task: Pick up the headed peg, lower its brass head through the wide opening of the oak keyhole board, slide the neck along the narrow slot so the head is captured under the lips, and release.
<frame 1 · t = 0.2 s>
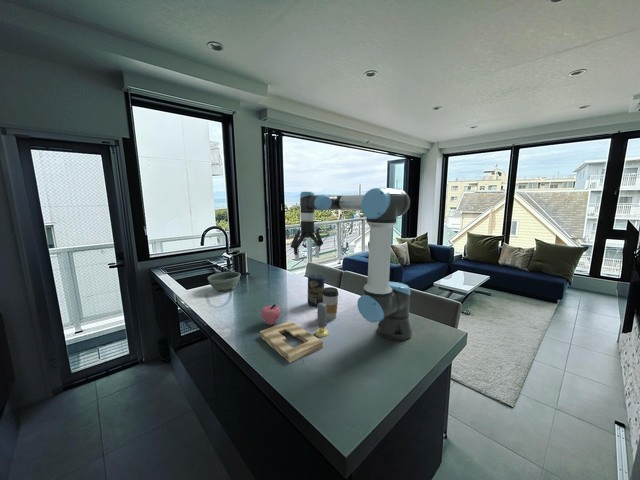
hand: (307, 258, 145), 28 cm above the countertop, fingers open, 13 cm apart
coffee cup: (330, 317, 135), on the countertop
keyhole board: (290, 342, 111), on the countertop
peg: (321, 333, 119), on the countertop
canister: (315, 304, 152), on the countertop
apple: (271, 324, 128), on the countertop
bowl: (225, 289, 176), on the countertop
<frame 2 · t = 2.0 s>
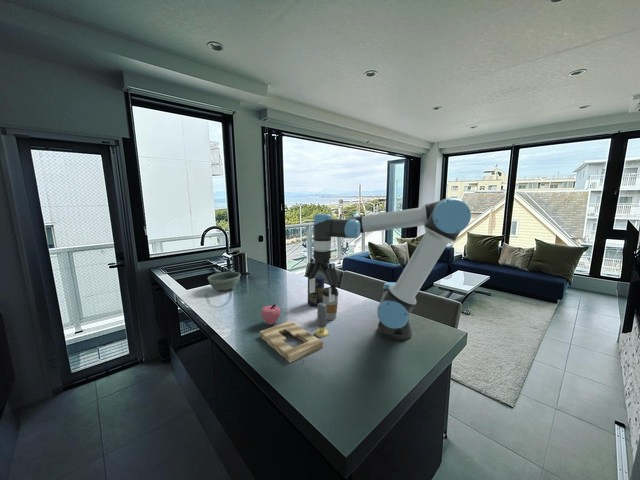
hand: (321, 296, 116), 17 cm above the countertop, fingers open, 13 cm apart
nothing on the countertop moved.
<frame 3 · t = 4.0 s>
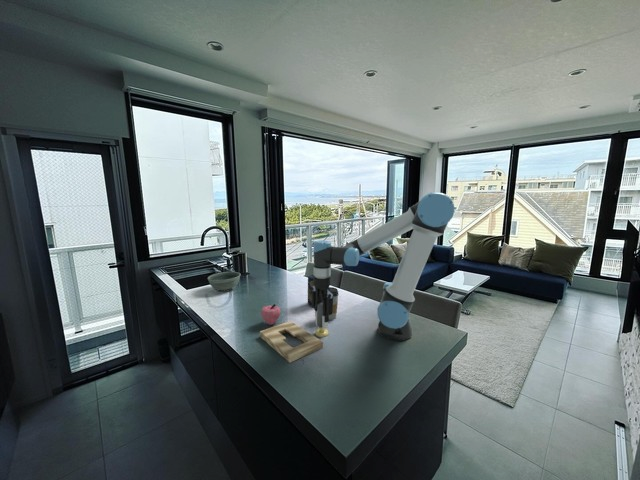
hand: (321, 326, 118), 4 cm above the countertop, fingers closed on peg, 4 cm apart
peg: (321, 333, 119), on the countertop, touching gripper
everything else where it was.
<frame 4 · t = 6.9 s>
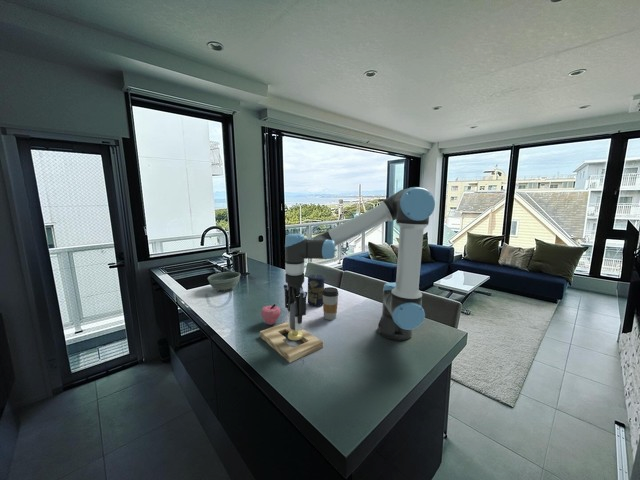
hand: (295, 327, 107), 8 cm above the countertop, fingers closed on peg, 4 cm apart
peg: (295, 336, 108), point 4 cm above the countertop, touching gripper
everything else where it was.
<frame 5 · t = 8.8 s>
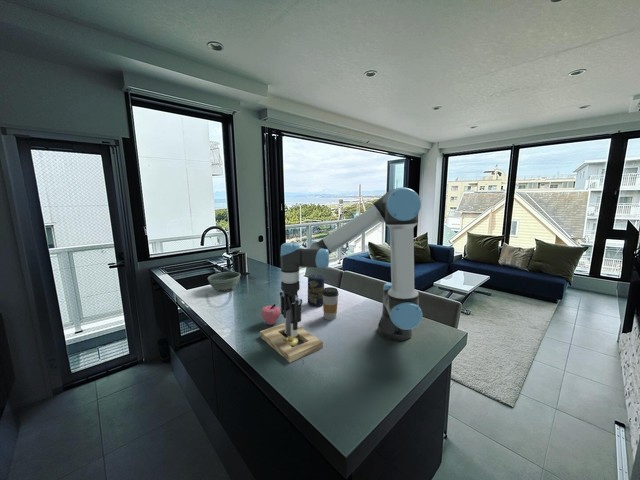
hand: (290, 333, 110), 4 cm above the countertop, fingers closed on peg, 4 cm apart
peg: (291, 342, 111), resting in keyhole board, touching gripper
everything else where it was.
when the fingers open (4 cm above the countertop, at t = 9.9 s): peg stays where it is, resting in keyhole board.
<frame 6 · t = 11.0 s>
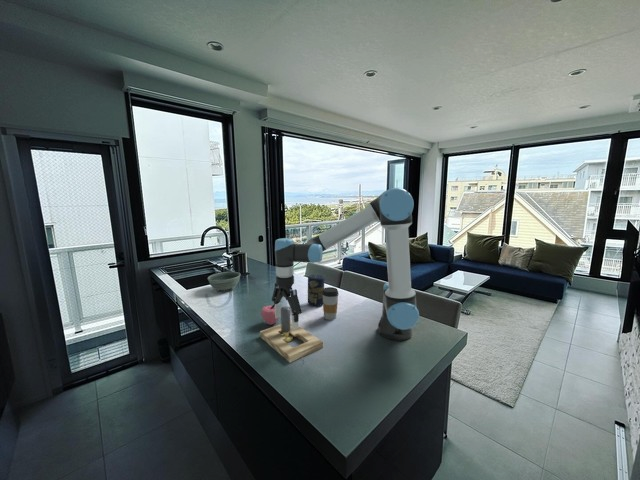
hand: (286, 322, 113), 7 cm above the countertop, fingers open, 13 cm apart
peg: (285, 338, 114), resting in keyhole board
everything else where it was.
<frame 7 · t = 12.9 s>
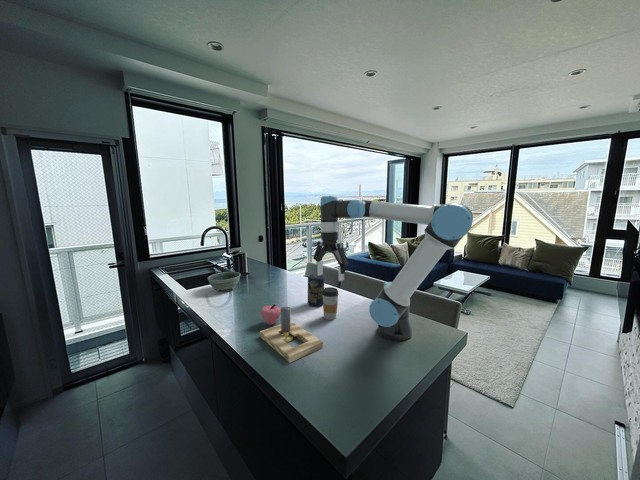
hand: (330, 277, 119), 25 cm above the countertop, fingers open, 13 cm apart
nothing on the countertop moved.
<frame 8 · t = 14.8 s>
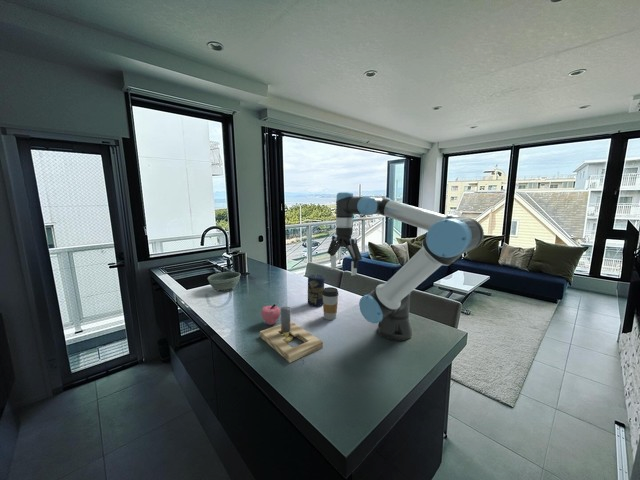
hand: (343, 271, 123), 27 cm above the countertop, fingers open, 13 cm apart
nothing on the countertop moved.
at the end: peg 0.8 cm from the target spot on the keyhole board, point 0.0 cm above the keyhole board's base; peg tilted 0°; the gripper is holding nothing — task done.
